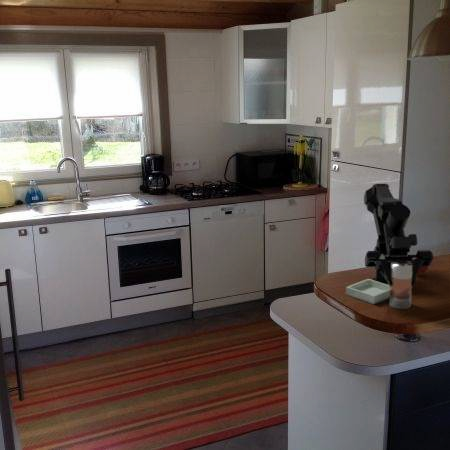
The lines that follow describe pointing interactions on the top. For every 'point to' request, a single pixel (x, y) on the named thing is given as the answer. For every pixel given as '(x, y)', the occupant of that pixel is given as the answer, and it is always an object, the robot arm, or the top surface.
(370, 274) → the top surface
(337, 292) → the top surface
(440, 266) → the top surface
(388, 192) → the robot arm
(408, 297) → the tin
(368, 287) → the pale green square tray
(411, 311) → the top surface
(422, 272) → the onion
